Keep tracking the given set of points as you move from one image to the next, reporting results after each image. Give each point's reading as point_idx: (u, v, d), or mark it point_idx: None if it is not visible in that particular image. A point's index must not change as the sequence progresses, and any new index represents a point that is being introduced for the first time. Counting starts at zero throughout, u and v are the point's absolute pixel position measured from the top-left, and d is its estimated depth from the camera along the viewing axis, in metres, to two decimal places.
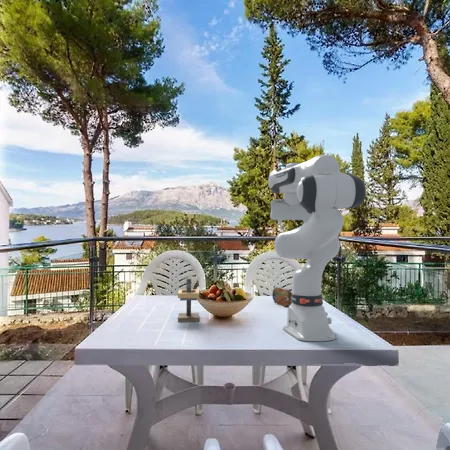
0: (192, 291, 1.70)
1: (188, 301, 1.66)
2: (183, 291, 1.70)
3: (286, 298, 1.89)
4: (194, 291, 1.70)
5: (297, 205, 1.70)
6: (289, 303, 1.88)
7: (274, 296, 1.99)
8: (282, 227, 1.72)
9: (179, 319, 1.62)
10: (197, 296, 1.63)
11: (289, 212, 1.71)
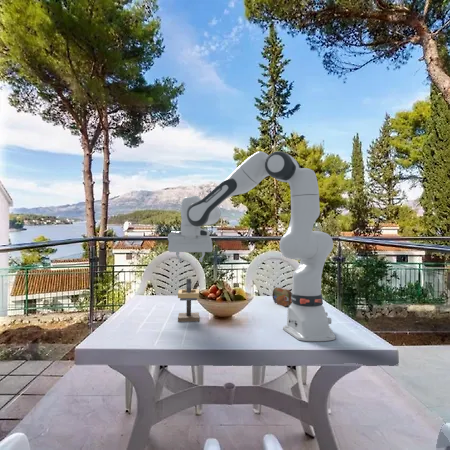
0: (192, 291, 1.70)
1: (188, 301, 1.66)
2: (183, 291, 1.70)
3: (286, 298, 1.89)
4: (194, 291, 1.70)
5: (193, 237, 1.71)
6: (289, 303, 1.88)
7: (274, 296, 1.99)
8: (179, 259, 1.73)
9: (179, 319, 1.62)
10: (197, 296, 1.63)
11: (186, 244, 1.72)
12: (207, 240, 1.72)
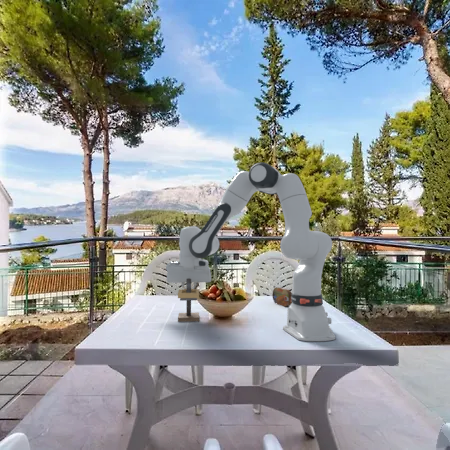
0: (192, 291, 1.70)
1: (188, 301, 1.66)
2: (183, 291, 1.70)
3: (286, 298, 1.89)
4: (194, 291, 1.70)
5: (191, 268, 1.71)
6: (289, 303, 1.88)
7: (274, 296, 1.99)
8: None
9: (179, 319, 1.62)
10: (197, 296, 1.63)
11: (184, 275, 1.72)
12: (205, 270, 1.72)
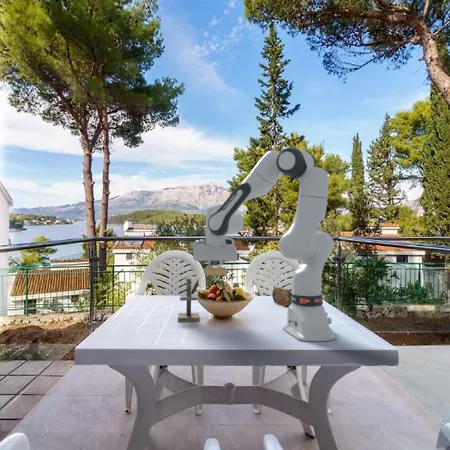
0: (218, 269, 1.71)
1: (188, 301, 1.66)
2: (210, 269, 1.70)
3: (286, 298, 1.89)
4: (220, 269, 1.71)
5: (218, 246, 1.72)
6: (289, 303, 1.88)
7: (274, 296, 1.99)
8: None
9: (179, 319, 1.62)
10: (225, 273, 1.63)
11: (211, 253, 1.72)
12: (232, 249, 1.73)
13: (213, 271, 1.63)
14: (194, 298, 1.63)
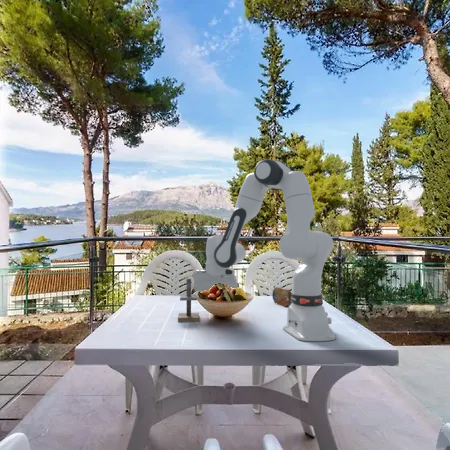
0: None
1: (188, 301, 1.66)
2: None
3: (286, 298, 1.89)
4: None
5: (218, 276, 1.72)
6: (289, 303, 1.88)
7: (274, 296, 1.99)
8: None
9: (179, 319, 1.62)
10: None
11: (211, 283, 1.73)
12: (232, 279, 1.73)
13: None
14: (194, 298, 1.63)
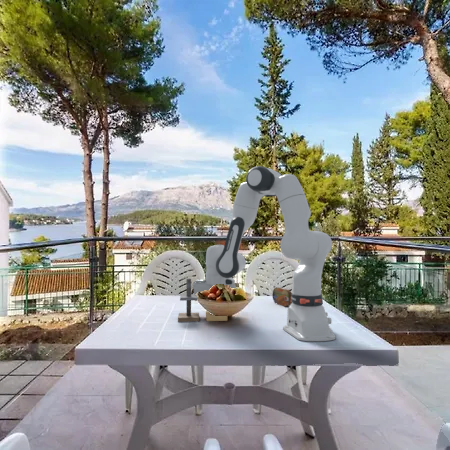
0: None
1: (188, 301, 1.66)
2: None
3: (286, 298, 1.89)
4: None
5: None
6: (289, 303, 1.88)
7: (274, 296, 1.99)
8: None
9: (179, 319, 1.62)
10: (225, 319, 1.64)
11: None
12: None
13: (214, 317, 1.63)
14: (194, 298, 1.63)
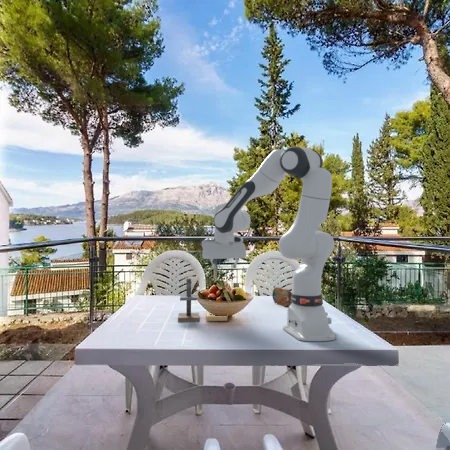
0: None
1: (188, 301, 1.66)
2: None
3: (286, 298, 1.89)
4: None
5: (227, 244, 1.73)
6: (289, 303, 1.88)
7: (274, 296, 1.99)
8: (214, 266, 1.75)
9: (179, 319, 1.62)
10: (225, 319, 1.64)
11: (220, 251, 1.74)
12: (240, 246, 1.75)
13: (214, 317, 1.63)
14: (194, 298, 1.63)
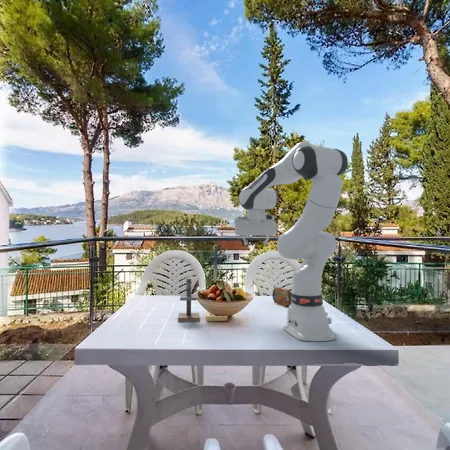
0: None
1: (188, 301, 1.66)
2: None
3: (286, 298, 1.89)
4: None
5: (259, 221, 1.82)
6: (289, 303, 1.88)
7: (274, 296, 1.99)
8: (246, 242, 1.83)
9: (179, 319, 1.62)
10: (225, 319, 1.64)
11: (252, 228, 1.83)
12: (272, 224, 1.83)
13: (214, 317, 1.63)
14: (194, 298, 1.63)
